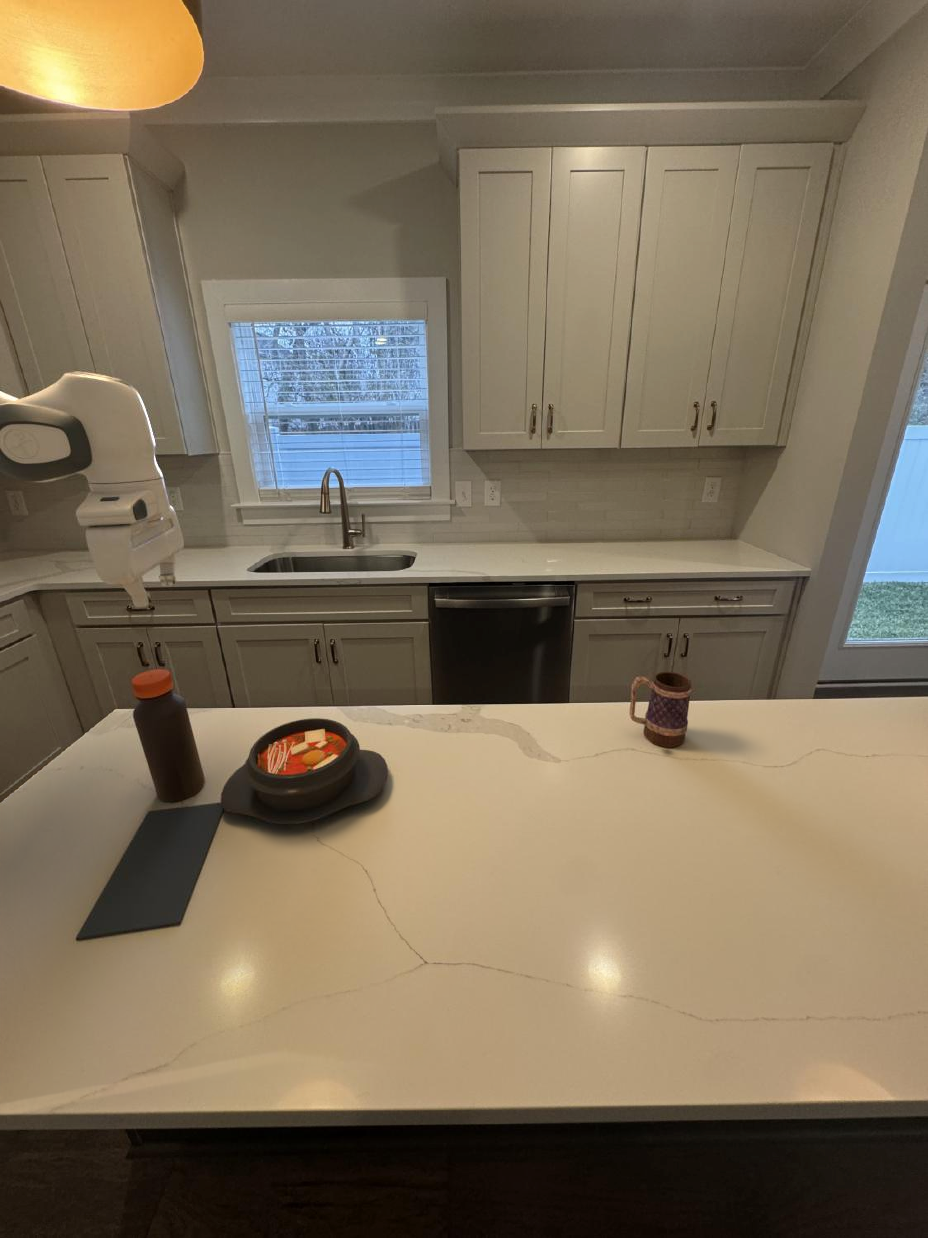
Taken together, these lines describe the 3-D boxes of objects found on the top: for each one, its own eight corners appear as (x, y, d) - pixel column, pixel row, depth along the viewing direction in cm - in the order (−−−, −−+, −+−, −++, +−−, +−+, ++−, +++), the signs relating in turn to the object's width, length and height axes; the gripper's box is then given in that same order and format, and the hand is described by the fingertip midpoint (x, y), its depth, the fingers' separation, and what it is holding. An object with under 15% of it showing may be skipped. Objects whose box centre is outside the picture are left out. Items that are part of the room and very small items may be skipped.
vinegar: (161, 780, 82) (128, 670, 75) (207, 770, 84) (180, 662, 77) (153, 808, 76) (117, 692, 69) (203, 796, 78) (173, 683, 71)
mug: (678, 726, 94) (688, 668, 89) (690, 750, 87) (700, 688, 83) (621, 723, 95) (628, 666, 90) (628, 746, 88) (636, 686, 84)
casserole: (204, 843, 70) (190, 794, 67) (244, 758, 87) (234, 717, 84) (386, 826, 72) (382, 778, 69) (390, 747, 89) (386, 706, 86)
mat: (76, 940, 57) (75, 938, 57) (148, 813, 75) (148, 811, 75) (180, 924, 59) (179, 922, 58) (226, 803, 77) (226, 801, 77)
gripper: (140, 491, 80) (162, 576, 85) (66, 515, 61) (100, 621, 66) (183, 490, 81) (201, 573, 86) (123, 512, 62) (151, 617, 67)
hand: (157, 594), depth 76 cm, fingers open, 8 cm apart
